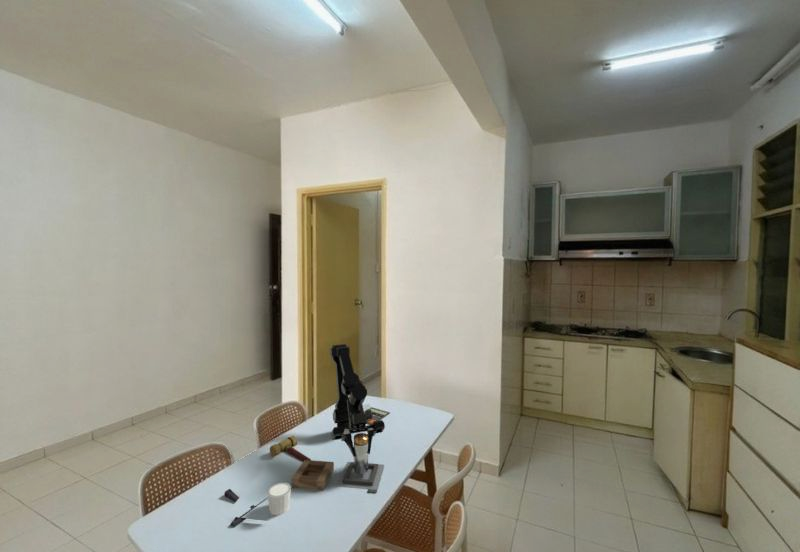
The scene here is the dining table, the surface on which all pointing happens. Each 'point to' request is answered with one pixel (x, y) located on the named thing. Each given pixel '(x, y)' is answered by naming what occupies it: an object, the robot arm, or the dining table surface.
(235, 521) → the bracket
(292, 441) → the gavel
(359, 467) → the gold-topped cylinder
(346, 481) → the tray
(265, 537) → the dining table surface
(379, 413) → the calculator
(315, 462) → the socket block
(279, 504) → the white cylinder
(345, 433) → the robot arm
